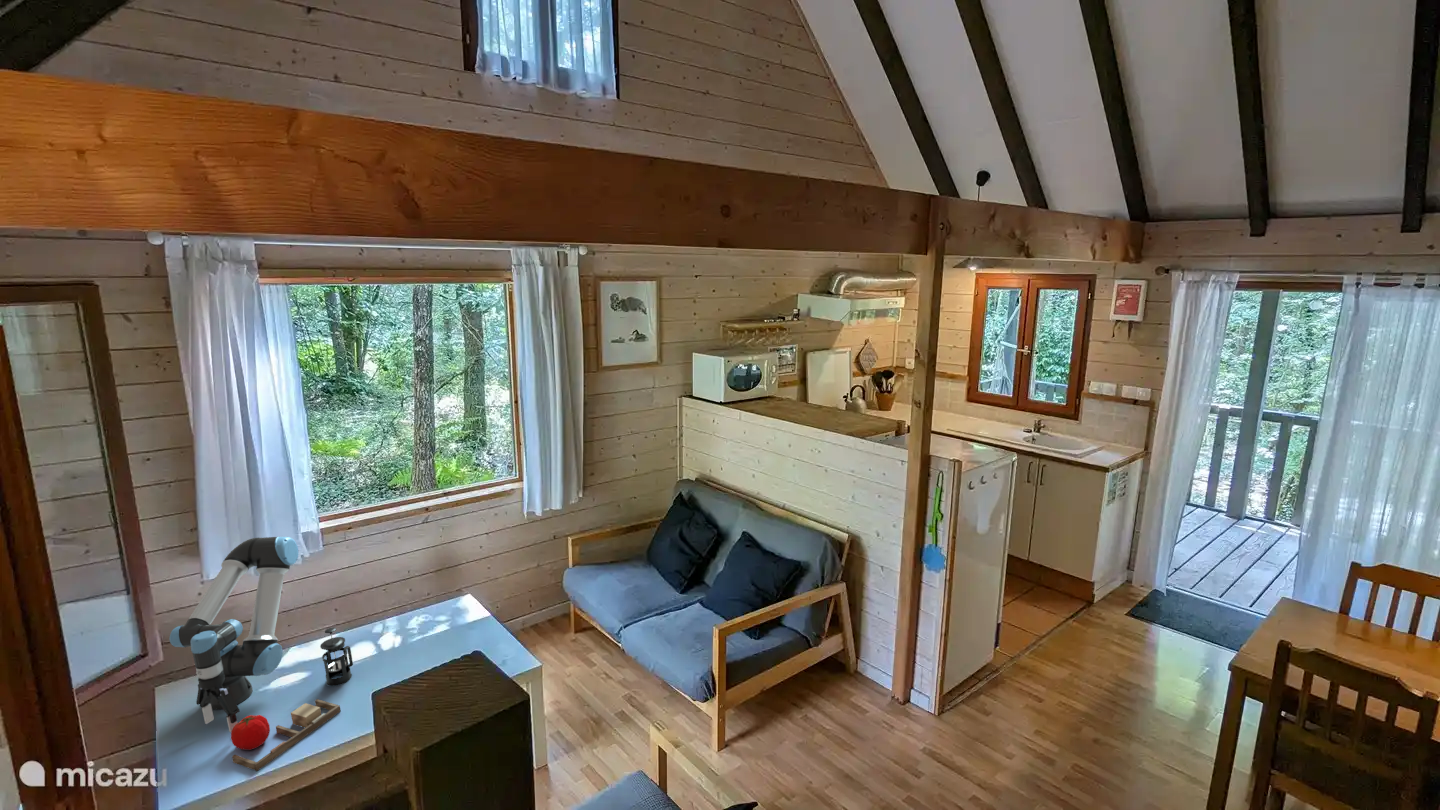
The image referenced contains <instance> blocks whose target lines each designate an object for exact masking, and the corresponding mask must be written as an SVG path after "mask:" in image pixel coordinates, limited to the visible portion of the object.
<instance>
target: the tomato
mask: <svg viewBox="0 0 1440 810" xmlns="http://www.w3.org/2000/svg"><path fill="white" fill-rule="evenodd" d="M270 732H271V729H270V724H269V721H268V719H267V718H266V717H265V716H264V715H261V714H257V715H256V714H254V715H253V714H250V715H247V716H245V717H244V718H242V719H241V720H240V721H239V722H237V724H236V725H235V726H234V727H233V729H232V732H230V739H231V742H232V745H233V746H234V747H236V748H237V749H240V750H245V751H247V750H249V751H250V750H253V749H256V748H258V747H259V746H261V745H263V744H264V743H265V742H266V740H267V739H268V738H269V735H270Z"/></svg>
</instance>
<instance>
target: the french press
mask: <svg viewBox="0 0 1440 810" xmlns="http://www.w3.org/2000/svg"><path fill="white" fill-rule="evenodd" d="M336 630H337V627H335V626H334V627H329V628H327V629H325V631H324V633H325V634H329V635H330V637H331V638H329V639H326V640H324V641H323V642H321V644H320V646H319V647H320V649H322V650H325V652H324V653H323V654H322V657H321V658H322V661H323V664H324V665H323V666H324V669H325V670H324V671H325V680H326V681H325V684H326V685H327V686H328V687H337V686H341V685H344V684H345V683H348V682H349V681H350V680H351V679H352V676H353V674H352V673H351V667H352V666H353V665H354V662H353V661H354V660H353V656H352V650H351V646H348V645H346V644H345V642H346V639H345V637H343V636H335V637H333V633H334V632H336ZM345 645H346V646H345ZM339 651H340V652H342V651H343V654H342V655H341V656H339V657H336V653H337V652H339ZM331 653H333V655H334V658H332V654H331ZM325 657H326V659H325ZM339 675H341V676H339ZM336 676H339V677H336ZM334 677H335V678H334Z"/></svg>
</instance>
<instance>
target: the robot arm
mask: <svg viewBox="0 0 1440 810" xmlns="http://www.w3.org/2000/svg"><path fill="white" fill-rule="evenodd" d="M298 558H299V546H298V544H297V542H296V540H295V539H294V538H293V537H289V536H269V537H267V536H266V537H252V538H248V539H246V540H245V541H243V542H241V543H239V544H238V545H237V546H235V547H234V549H232V550H231V551H230V552H229V553H228V554H227V556H225V558H224V560H223V561H222V563H221V569H220V570H219V572H218V574H217V575H216V577H215V578H214V579H213V581H212V583H211V584H210V585H209V587H208V589H207V590H206V592H205V594H204V595H203V597H202V598H201V600H200V601H199V603H198V604H197V605H196V607H195V609H193V611H192V613H191V615H190V616H189V618H188V619H187V621H185V624H184V625H178V626H176V627H174V628H173V629H172V630H171V631H170V633H169V634H170V635H169V637H168V638H169V643H170V644H171V645H172V646H173V647H175V648H190V652H191V653H192V658H193V661H194V666H195V670H196V672H195V674H196V675H197V678H198V679H197V681H198V684H197V688H198V690H197V695H196V701H195V702H196V705H197V706H199V707H200V708H201V711H202V715H203V719H204V720H203V721H204V724H206V725H208V724H209V723H210V722H212V721H214V720H215V716H214V713H213V711H214V710H215V711H218V710H223V711H224V712H225V713H226V715H225V718H226V721H227V727H228V732H229V733H231V732H232V729H233V727H234V726H235V725H236V724H237V723H238V720H237V714H238V713H239V712H240V708H239V707H238V704H241V703H243V702H244V701H245V700H247V699H249V697H251V696H252V694H253V692H254V691H253V684H252V683H251V682H250V681H249V679H248V678H247V677H253V676H254V677H257V676H258V677H259V676H267V675H270V674H271V673H273V672H274V671H275V670H276V669H277V668H278V667H279V665H280V663H281V661H282V657H283V653H284V652H283V647H282V645H281V644H279V643H278V641H279V639H278V637H277V636H276V635H275V632H276V626H277V621H278V616H279V615H278V614H279V608H280V603H281V602H280V601H281V597H282V591H283V584H284V578H285V574H287V572H289V571H290V568H291V566H292V565H295V563H296V562H297V560H298ZM253 567H256V569H255V571H256V572H257V573H258V574H259V576H258V581H257V587H256V594H255V599H254V606H253V610H252V615H251V620H250V621H251V622H250V628H249V632H248V636H247V637H245V638H244V639H243V641H242V644H239V642H238V641H237V639H238V637H240V636H241V635H242V633H243V631H244V627H243V624H242V622H241V621H239V620H237V619H235V618H231V619H228V620H226V621H223V622H222V623H221V624H212V623H213V622H214V620H215V618H216V617H217V615H218V614H219V612H220V611H221V609H222V607H223V606H224V604H225V602H226V601H227V600H228V598H229V596H230V595H231V593H232V591H234V588H235V587H236V585H237V584H238V582H239V580H241V578H242V576H243V575H246V574H247V573H248V571H249V570H250V569H251V568H253Z"/></svg>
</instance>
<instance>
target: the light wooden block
mask: <svg viewBox="0 0 1440 810" xmlns="http://www.w3.org/2000/svg"><path fill="white" fill-rule="evenodd" d="M321 709H322V708H320V707H317V706H316V705H313V704H310V703H306V702H305V703H303V704H301V705H300V706H299V707H297V708H296V709H295V710H293V711H291V712H290V715H291V716H290V717H291V721H292V725H294V724H295V726H297V725H298V727H300V726H302V728H304V727H305V728H306V727H307V726H309V725H310V724H311V723H312V721H313V720H315V719H316V718H318V717H319V716H321V715H322V714H323V713H322V710H321Z"/></svg>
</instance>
